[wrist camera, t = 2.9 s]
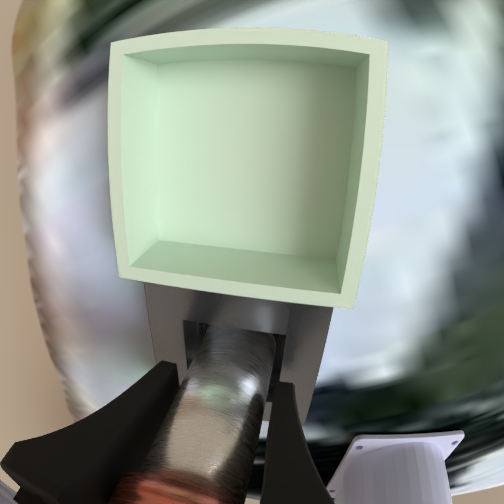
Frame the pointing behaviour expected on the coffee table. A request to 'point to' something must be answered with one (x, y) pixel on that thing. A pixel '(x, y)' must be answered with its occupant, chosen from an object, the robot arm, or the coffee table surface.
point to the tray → (246, 160)
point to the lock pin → (208, 425)
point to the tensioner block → (242, 317)
